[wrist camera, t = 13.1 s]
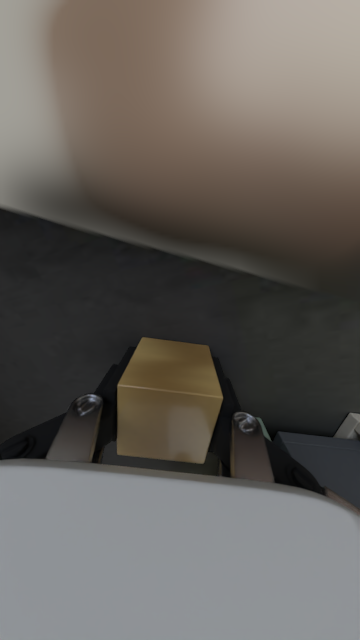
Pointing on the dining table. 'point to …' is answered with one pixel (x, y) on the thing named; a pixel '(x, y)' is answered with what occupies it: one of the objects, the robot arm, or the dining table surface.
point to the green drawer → (325, 460)
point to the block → (168, 402)
